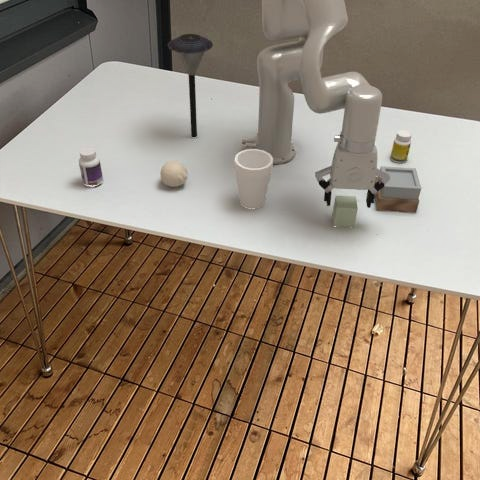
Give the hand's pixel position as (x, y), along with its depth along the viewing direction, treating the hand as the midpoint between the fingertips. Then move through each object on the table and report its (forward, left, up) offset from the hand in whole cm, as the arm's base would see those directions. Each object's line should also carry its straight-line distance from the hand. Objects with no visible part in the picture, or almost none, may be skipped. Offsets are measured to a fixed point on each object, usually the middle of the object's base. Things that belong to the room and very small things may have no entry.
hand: (348, 203), depth 138 cm
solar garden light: (-42, +38, -6) cm, 57 cm away
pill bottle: (-66, +12, -6) cm, 68 cm away
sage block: (0, +1, -6) cm, 6 cm away
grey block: (+14, +11, -2) cm, 18 cm away
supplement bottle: (+18, +31, -6) cm, 36 cm away
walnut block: (+14, +11, -6) cm, 18 cm away
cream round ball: (-44, +13, -6) cm, 46 cm away
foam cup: (-23, +7, -6) cm, 25 cm away
